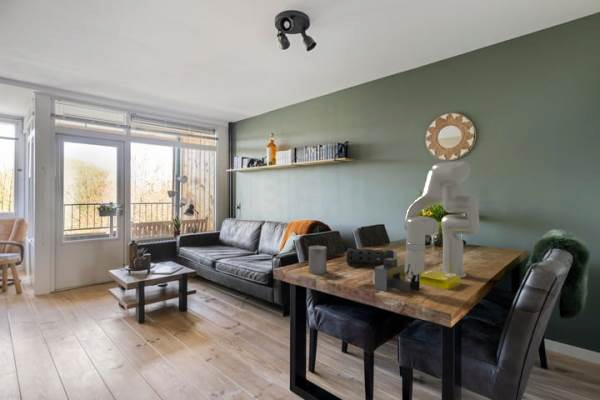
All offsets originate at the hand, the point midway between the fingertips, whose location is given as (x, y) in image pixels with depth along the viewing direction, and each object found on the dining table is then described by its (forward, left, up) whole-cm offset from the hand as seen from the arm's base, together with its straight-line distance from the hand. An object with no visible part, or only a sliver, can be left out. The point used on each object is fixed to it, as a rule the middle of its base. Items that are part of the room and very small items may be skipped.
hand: (415, 289), depth 132 cm
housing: (0, -12, -1) cm, 12 cm away
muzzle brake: (-27, -40, -2) cm, 48 cm away
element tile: (-22, +1, -2) cm, 22 cm away
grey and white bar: (0, -11, -1) cm, 11 cm away
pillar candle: (+6, -52, -1) cm, 52 cm away
